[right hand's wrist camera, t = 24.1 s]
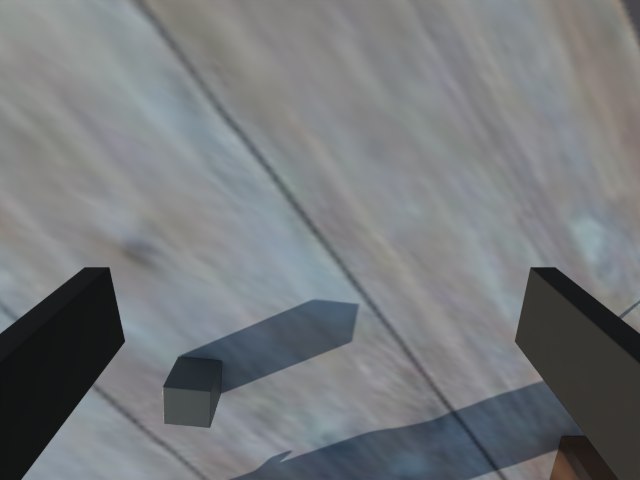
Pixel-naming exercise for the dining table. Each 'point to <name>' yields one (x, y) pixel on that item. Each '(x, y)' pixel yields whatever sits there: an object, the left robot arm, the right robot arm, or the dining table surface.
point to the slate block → (192, 392)
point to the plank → (580, 461)
